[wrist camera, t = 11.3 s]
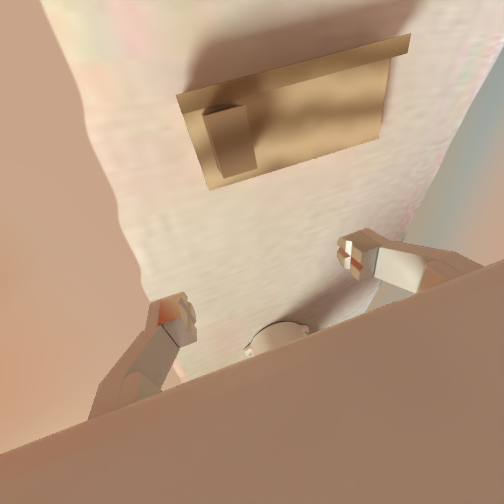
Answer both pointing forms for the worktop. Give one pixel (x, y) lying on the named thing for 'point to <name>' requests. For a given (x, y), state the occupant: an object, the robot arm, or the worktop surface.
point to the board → (299, 108)
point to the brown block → (231, 140)
